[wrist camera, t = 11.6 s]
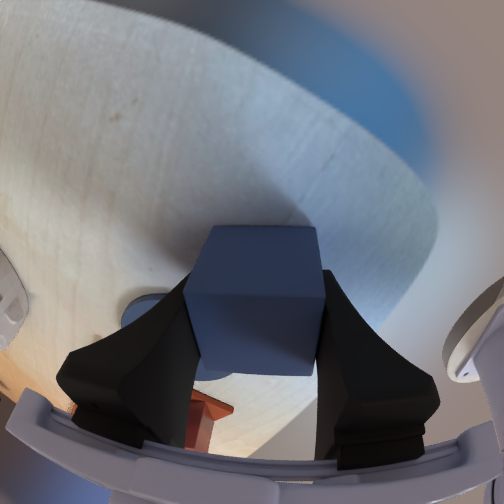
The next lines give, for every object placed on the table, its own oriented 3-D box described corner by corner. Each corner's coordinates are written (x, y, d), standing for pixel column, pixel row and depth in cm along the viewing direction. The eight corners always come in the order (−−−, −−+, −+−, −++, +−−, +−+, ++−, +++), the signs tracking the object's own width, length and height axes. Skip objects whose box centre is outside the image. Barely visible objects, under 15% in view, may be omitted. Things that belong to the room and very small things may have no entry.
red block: (205, 401, 20) (194, 448, 17) (214, 421, 23) (205, 463, 19) (155, 393, 21) (140, 436, 17) (170, 414, 23) (158, 453, 20)
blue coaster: (237, 298, 15) (235, 304, 14) (247, 380, 19) (246, 386, 18) (106, 289, 16) (103, 294, 15) (145, 367, 20) (143, 372, 19)
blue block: (315, 225, 12) (326, 296, 8) (309, 303, 14) (312, 376, 11) (212, 225, 12) (181, 291, 9) (223, 301, 15) (204, 370, 11)
